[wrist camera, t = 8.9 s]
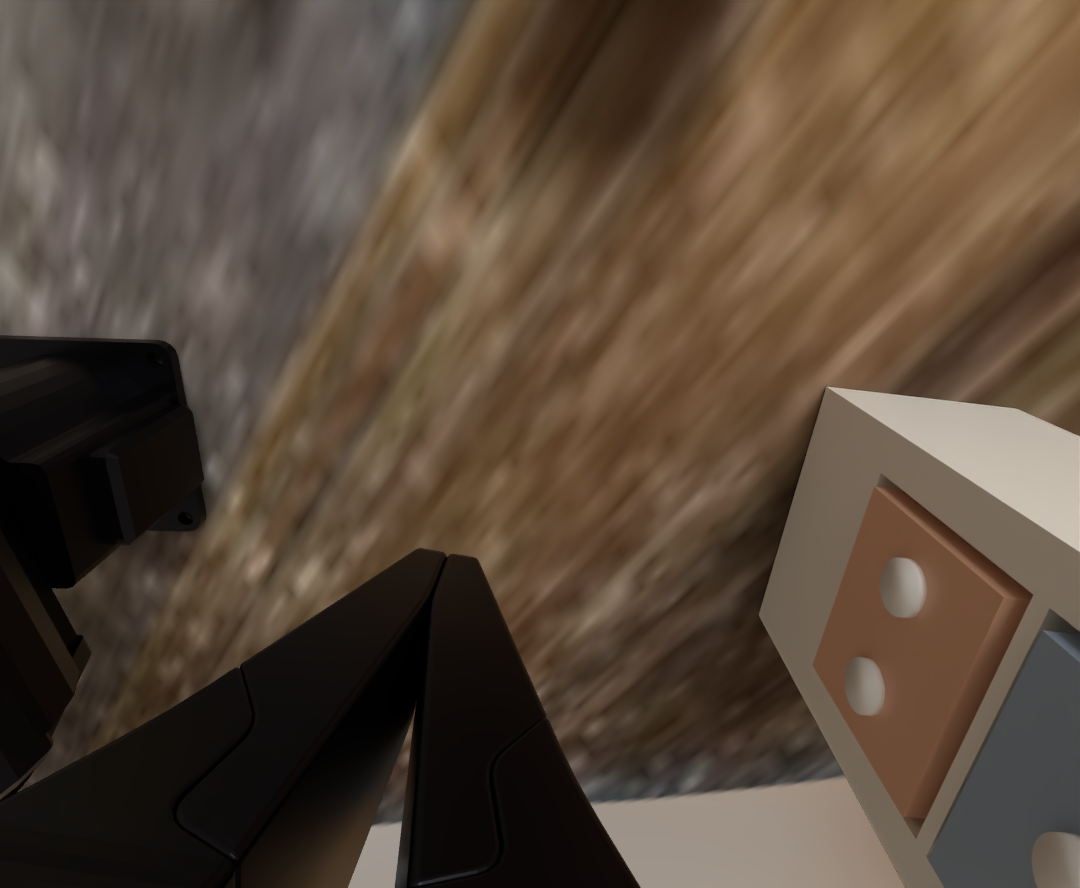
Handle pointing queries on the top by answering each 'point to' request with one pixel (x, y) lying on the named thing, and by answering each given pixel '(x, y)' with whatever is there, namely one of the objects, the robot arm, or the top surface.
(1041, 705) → the upper drawer
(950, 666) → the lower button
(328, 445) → the top surface
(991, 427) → the box
